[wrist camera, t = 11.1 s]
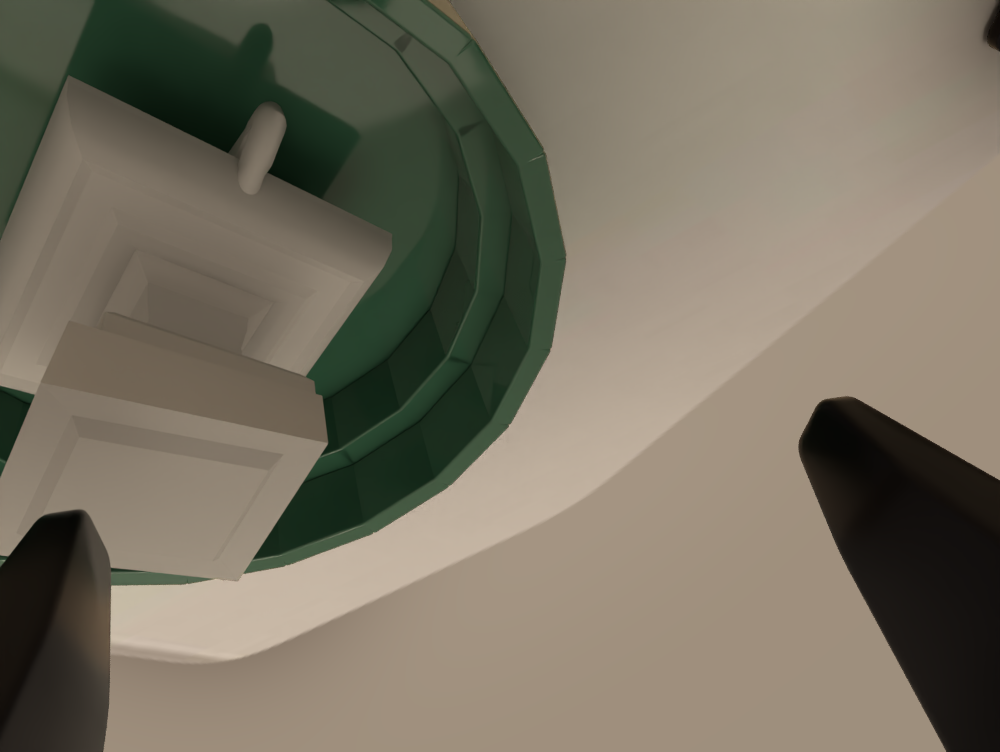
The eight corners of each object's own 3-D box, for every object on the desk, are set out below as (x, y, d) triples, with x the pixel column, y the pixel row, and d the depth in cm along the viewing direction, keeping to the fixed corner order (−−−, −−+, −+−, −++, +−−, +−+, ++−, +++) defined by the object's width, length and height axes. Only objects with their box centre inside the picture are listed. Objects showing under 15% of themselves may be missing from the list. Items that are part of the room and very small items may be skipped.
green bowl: (532, -174, 15) (631, -123, 11) (481, 407, 26) (523, 524, 22) (-542, -242, 11) (-908, -195, 7) (-60, 481, 22) (-113, 639, 18)
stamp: (237, 393, 22) (245, 667, 16) (-32, 315, 18) (-155, 638, 12) (403, 138, 18) (496, 375, 12) (104, -33, 14) (21, 192, 8)
